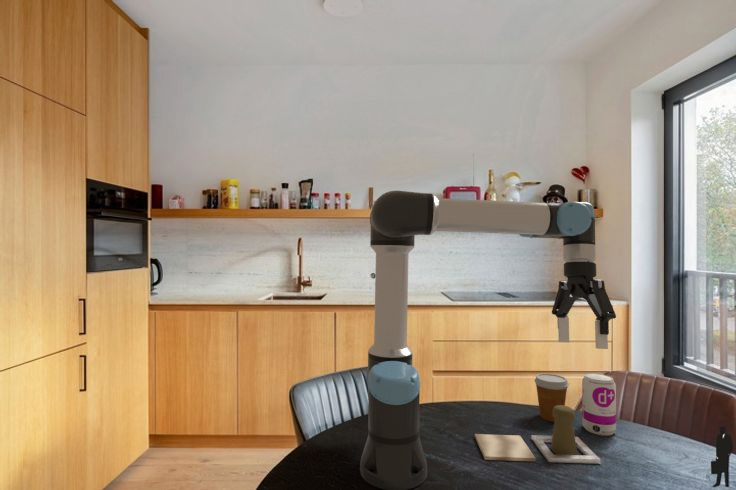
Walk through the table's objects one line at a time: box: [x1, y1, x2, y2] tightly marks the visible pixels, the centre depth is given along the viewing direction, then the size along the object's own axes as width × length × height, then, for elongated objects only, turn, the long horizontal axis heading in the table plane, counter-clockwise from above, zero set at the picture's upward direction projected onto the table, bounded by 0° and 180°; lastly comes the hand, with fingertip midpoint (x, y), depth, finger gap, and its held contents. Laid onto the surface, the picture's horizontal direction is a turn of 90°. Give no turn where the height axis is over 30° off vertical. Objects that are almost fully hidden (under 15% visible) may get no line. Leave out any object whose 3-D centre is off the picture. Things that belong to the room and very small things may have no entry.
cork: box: [550, 405, 578, 455], centre depth 102 cm, size 6×6×11 cm
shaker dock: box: [530, 434, 601, 465], centre depth 102 cm, size 12×12×1 cm
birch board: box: [474, 433, 537, 462], centre depth 103 cm, size 12×12×1 cm
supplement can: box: [581, 372, 617, 437], centre depth 114 cm, size 8×8×15 cm
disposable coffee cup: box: [534, 373, 570, 422], centre depth 123 cm, size 10×10×12 cm
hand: (581, 345), depth 103 cm, fingers open, 13 cm apart
